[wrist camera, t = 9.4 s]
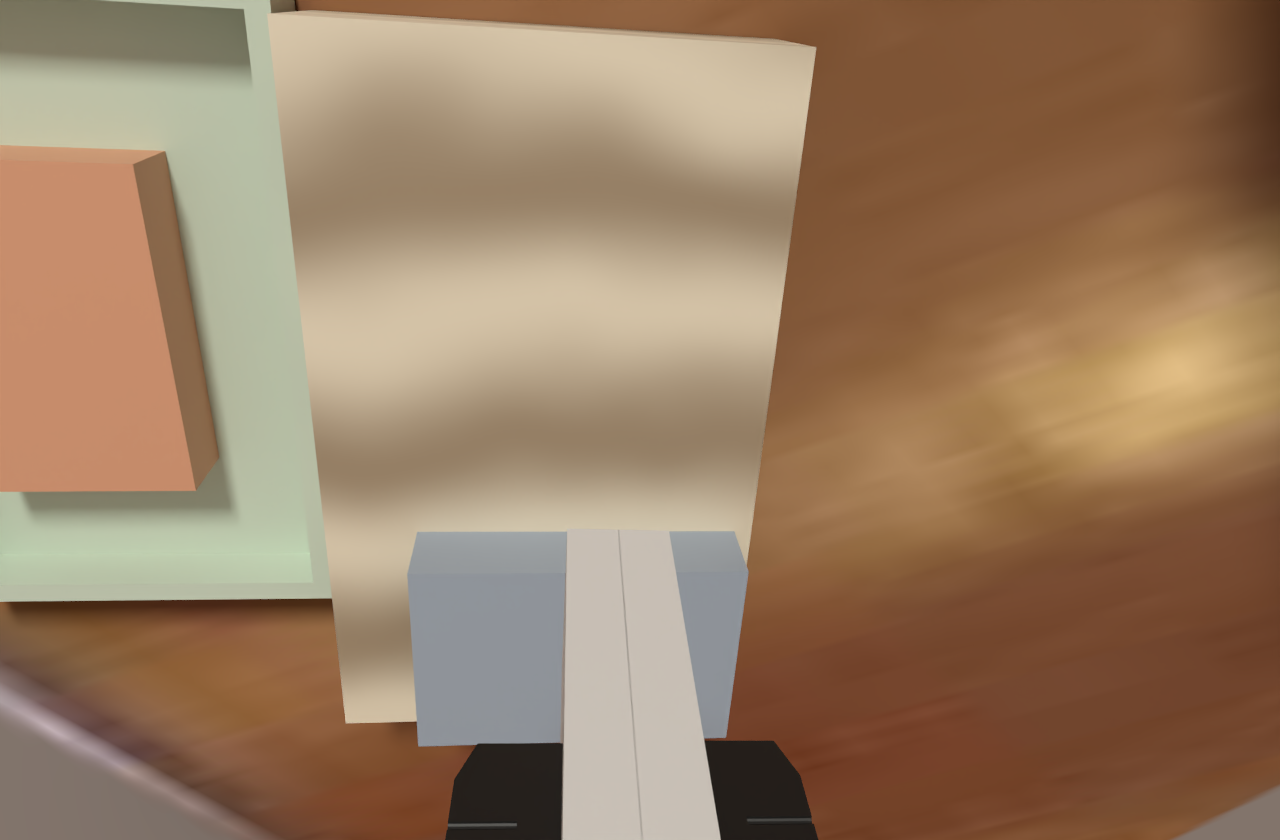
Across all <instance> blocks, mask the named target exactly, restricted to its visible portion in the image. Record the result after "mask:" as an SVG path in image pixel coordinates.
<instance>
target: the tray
mask: <svg viewBox="0 0 1280 840" xmlns="http://www.w3.org/2000/svg"><path fill="white" fill-rule="evenodd" d="M295 11H296V10H295V0H0V145H11V146H40V147H70V148H99V149H128V150H157V151H165V153H166V158H167V164H168V170H169V175H170V181H171V187H172V192H173V198H174V204H175V209H176V215H177V221H178V226H179V232H180V238H181V243H182V249H183V255H184V260H185V266H186V272H187V277H188V283H189V289H190V294H191V300H192V306H193V311H194V317H195V323H196V328H197V334H198V340H199V345H200V351H201V357H202V362H203V368H204V373H205V379H206V385H207V390H208V396H209V402H210V407H211V413H212V419H213V424H214V430H215V436H216V441H217V447H218V453H219V459H218V460H217V461H216V463H215V464H214V466H213V467H212V469H211V470H210V471H209V473H208V474H207V476H206V477H205V479H204V480H203V481H202V483H201V484H200V486H199V487H198V489H197V490H196V491H72V492H0V602H10V601H111V600H212V599H313V598H332V594H331V585H330V576H329V567H328V558H327V549H326V540H325V531H324V522H323V513H322V504H321V495H320V486H319V477H318V468H317V459H316V450H315V441H314V432H313V423H312V414H311V405H310V396H309V387H308V378H307V369H306V360H305V351H304V342H303V333H302V324H301V315H300V306H299V297H298V288H297V279H296V270H295V261H294V252H293V243H292V234H291V225H290V216H289V207H288V198H287V189H286V180H285V171H284V162H283V153H282V144H281V135H280V126H279V117H278V108H277V99H276V90H275V81H274V72H273V63H272V54H271V45H270V36H269V27H268V18H267V14H269V13H282V12H295Z"/></svg>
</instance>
